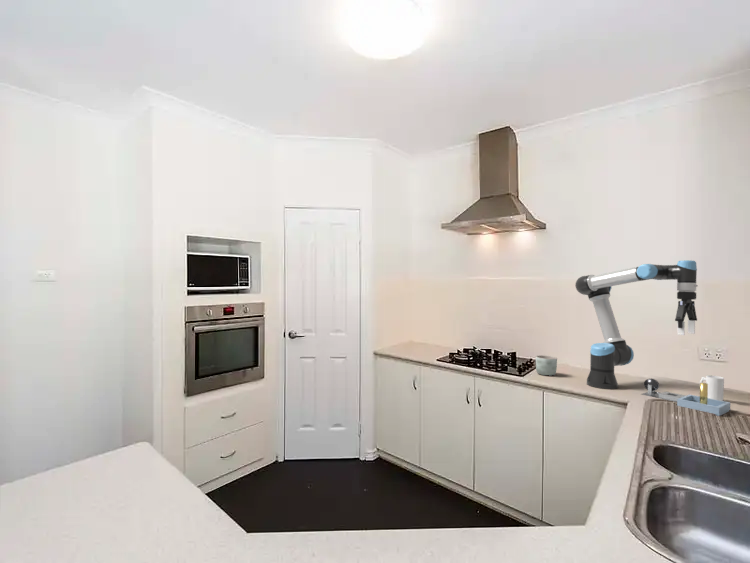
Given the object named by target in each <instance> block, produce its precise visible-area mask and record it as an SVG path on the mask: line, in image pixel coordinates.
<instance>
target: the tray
mask: <svg viewBox="0 0 750 563" xmlns="http://www.w3.org/2000/svg"><path fill="white" fill-rule="evenodd" d="M676 406H677V407H682V408H687V409H691V410H695V411H701V412H705V413H710V414H714V416H717V417H720V416H723V415H724V414H726V413H728V412H730V411H731V402H730V401H724V400H723V401H720V400H715V399H710V398H708V405H707V404H702V403H700V395H694V394H686V396H684V397H681V398H679V399H677V402H676ZM729 410H730V411H729Z"/></svg>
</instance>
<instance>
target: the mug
mask: <svg viewBox="0 0 750 563" xmlns="http://www.w3.org/2000/svg"><path fill="white" fill-rule="evenodd" d="M704 381H705V383H707V384H708V398H710V399H715V400H720V401H724V391H725V390H724V389H725V377H722V376H720V375H708V374H707V375H705V376H701V378H700V380H699V384H700V383H704Z"/></svg>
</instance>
